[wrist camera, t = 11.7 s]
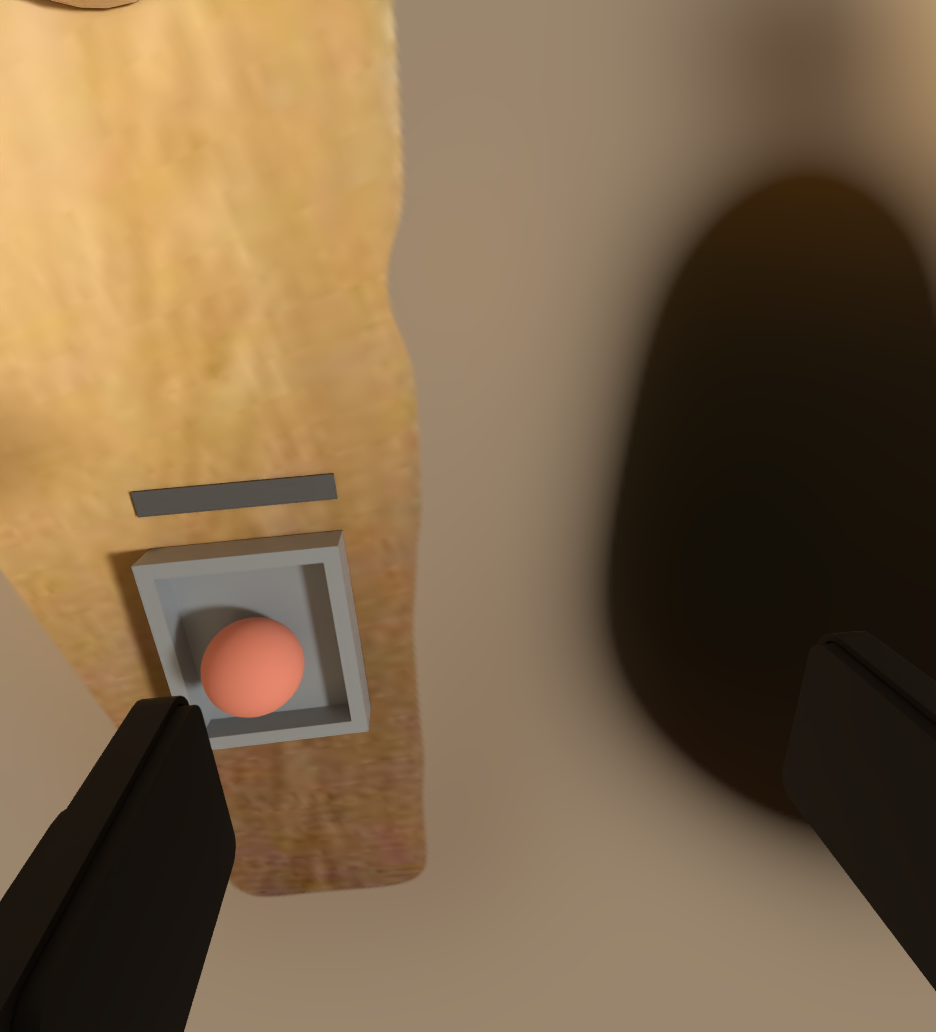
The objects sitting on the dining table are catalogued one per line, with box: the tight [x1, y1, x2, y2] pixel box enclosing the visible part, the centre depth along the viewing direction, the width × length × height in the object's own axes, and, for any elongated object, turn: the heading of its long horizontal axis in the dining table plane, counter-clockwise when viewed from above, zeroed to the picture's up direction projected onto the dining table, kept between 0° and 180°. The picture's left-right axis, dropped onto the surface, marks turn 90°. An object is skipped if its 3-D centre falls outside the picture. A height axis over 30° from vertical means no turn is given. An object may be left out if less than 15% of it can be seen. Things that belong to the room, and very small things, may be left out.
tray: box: [131, 530, 371, 750], centre depth 37 cm, size 14×12×2 cm
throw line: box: [131, 473, 337, 517], centre depth 35 cm, size 2×12×1 cm, turn 94°
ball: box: [201, 617, 304, 718], centre depth 35 cm, size 6×6×6 cm
